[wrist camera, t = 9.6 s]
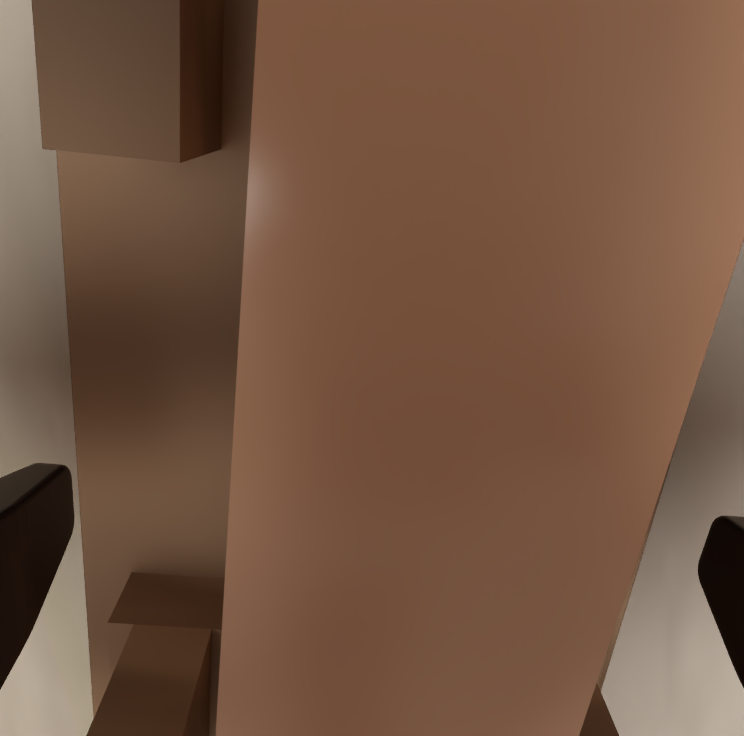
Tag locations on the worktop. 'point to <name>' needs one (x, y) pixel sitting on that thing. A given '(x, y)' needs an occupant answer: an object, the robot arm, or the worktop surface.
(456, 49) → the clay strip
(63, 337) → the worktop surface
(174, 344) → the drying rack
